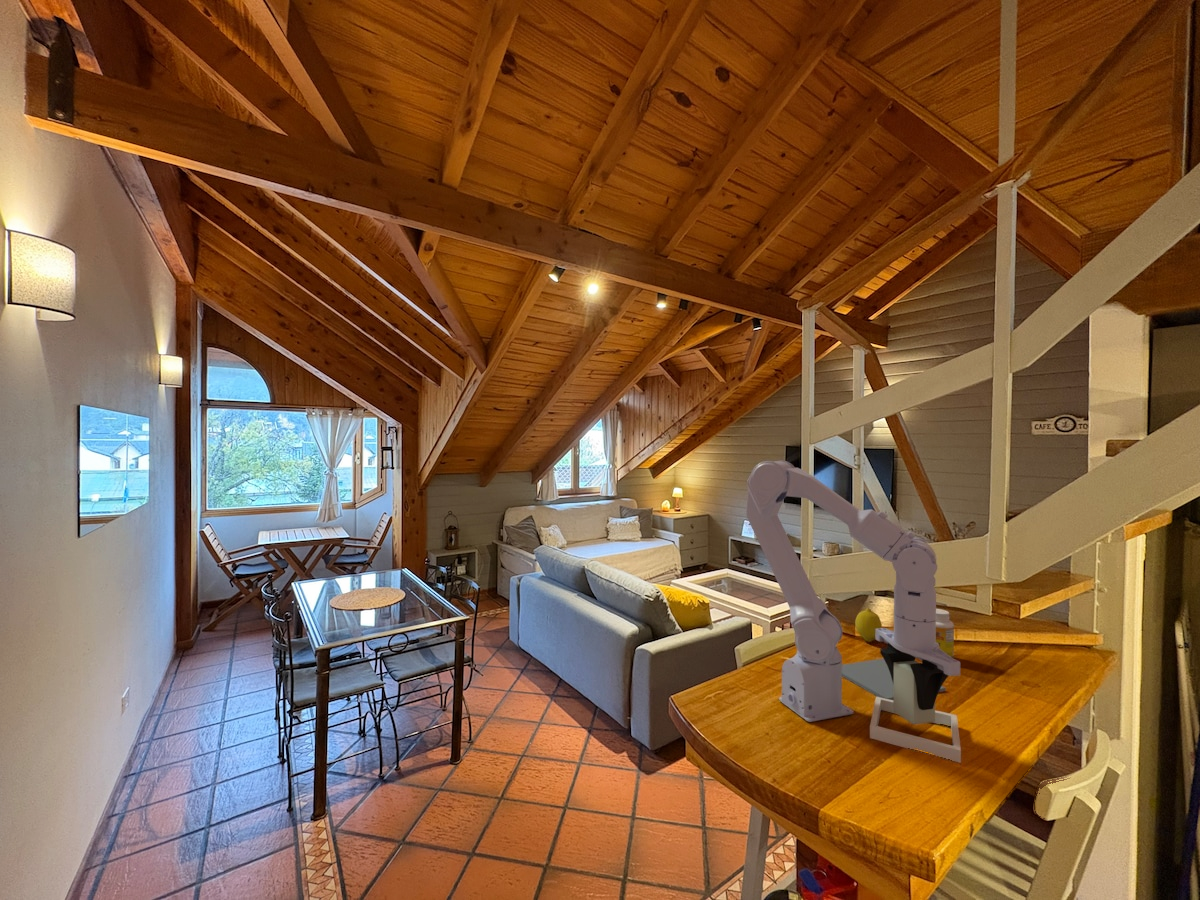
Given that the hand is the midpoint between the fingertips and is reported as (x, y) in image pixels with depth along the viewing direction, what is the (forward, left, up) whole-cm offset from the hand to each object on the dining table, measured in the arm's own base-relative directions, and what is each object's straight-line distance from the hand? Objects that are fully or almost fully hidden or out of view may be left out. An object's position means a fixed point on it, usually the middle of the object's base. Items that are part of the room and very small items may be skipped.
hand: (913, 701), depth 81 cm
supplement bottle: (+31, +21, -5) cm, 38 cm away
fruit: (+24, +33, -5) cm, 41 cm away
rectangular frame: (0, 0, -5) cm, 5 cm away
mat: (+11, +16, -5) cm, 20 cm away
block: (0, 0, -2) cm, 2 cm away
